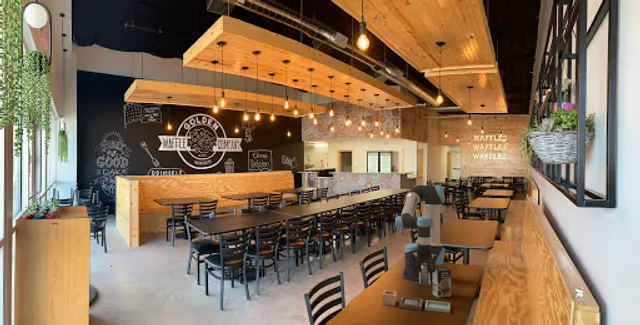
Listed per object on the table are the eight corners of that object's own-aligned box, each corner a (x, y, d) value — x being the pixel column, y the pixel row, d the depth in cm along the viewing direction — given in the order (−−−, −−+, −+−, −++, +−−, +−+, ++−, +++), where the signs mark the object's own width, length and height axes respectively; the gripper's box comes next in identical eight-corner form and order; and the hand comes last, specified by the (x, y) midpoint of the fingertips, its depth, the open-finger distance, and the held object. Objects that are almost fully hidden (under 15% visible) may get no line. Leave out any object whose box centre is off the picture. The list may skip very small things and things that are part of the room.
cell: (421, 281, 220) (420, 262, 220) (429, 282, 219) (428, 262, 218) (420, 284, 216) (420, 264, 216) (428, 285, 214) (428, 265, 214)
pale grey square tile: (405, 300, 216) (405, 299, 216) (418, 302, 214) (418, 300, 214) (404, 305, 210) (404, 303, 210) (416, 306, 207) (416, 305, 207)
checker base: (401, 299, 219) (401, 296, 219) (422, 302, 215) (422, 298, 215) (398, 307, 208) (398, 304, 208) (421, 310, 204) (421, 306, 204)
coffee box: (438, 298, 222) (438, 271, 221) (432, 294, 228) (432, 268, 228) (451, 296, 224) (451, 269, 224) (445, 292, 230) (445, 266, 230)
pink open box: (384, 300, 219) (384, 290, 219) (396, 301, 217) (396, 291, 217) (382, 304, 213) (382, 294, 213) (394, 306, 210) (394, 295, 210)
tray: (426, 303, 214) (426, 300, 214) (450, 306, 209) (450, 302, 209) (424, 310, 204) (424, 306, 204) (449, 313, 200) (449, 309, 200)
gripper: (408, 244, 216) (408, 283, 217) (439, 246, 210) (440, 286, 211) (409, 241, 223) (410, 279, 224) (440, 242, 217) (440, 282, 218)
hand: (424, 283), depth 217 cm, fingers closed on cell, 4 cm apart
